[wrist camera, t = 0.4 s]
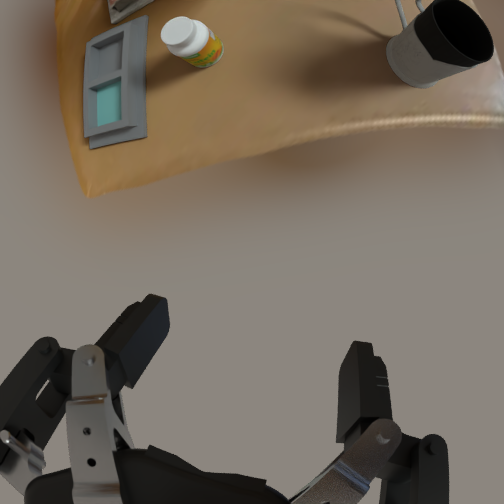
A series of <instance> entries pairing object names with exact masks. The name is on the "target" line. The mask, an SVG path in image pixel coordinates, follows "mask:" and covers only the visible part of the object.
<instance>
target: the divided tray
mask: <svg viewBox="0 0 504 504" xmlns="http://www.w3.org/2000/svg"><path fill="white" fill-rule="evenodd" d="M147 28H148V16H147V15H144V16H142V17H139V18H136V19H134V20H131V21H129V22H126V23H124V24H121V25H119V26H117V27H115V28H112V29H110V30H108V31H106V32H104V33H102V34H100V35H98V36H96V37H94V38H92V39H91V41H89V42H87V44H86V54H85V67H84V90H83V115H84V138H86V137H89V144H90V149H93V148H97V147H101V146H105V145H110V144H114V143H119V142H124V141H128V140H134V139H139V138H144V137H147V123H146V45H147Z"/></svg>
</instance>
